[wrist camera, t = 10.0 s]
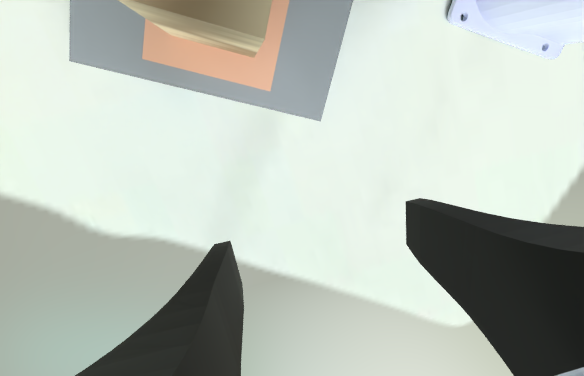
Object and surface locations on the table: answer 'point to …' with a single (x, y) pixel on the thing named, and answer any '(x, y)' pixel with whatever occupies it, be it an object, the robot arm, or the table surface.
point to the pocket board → (221, 53)
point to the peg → (210, 21)
